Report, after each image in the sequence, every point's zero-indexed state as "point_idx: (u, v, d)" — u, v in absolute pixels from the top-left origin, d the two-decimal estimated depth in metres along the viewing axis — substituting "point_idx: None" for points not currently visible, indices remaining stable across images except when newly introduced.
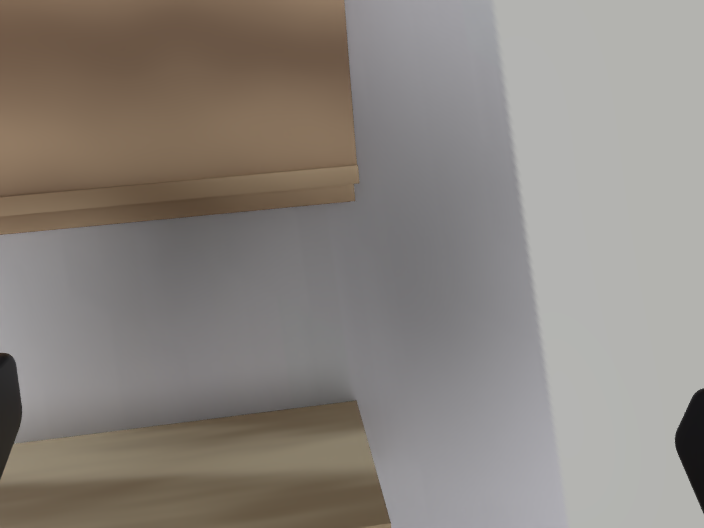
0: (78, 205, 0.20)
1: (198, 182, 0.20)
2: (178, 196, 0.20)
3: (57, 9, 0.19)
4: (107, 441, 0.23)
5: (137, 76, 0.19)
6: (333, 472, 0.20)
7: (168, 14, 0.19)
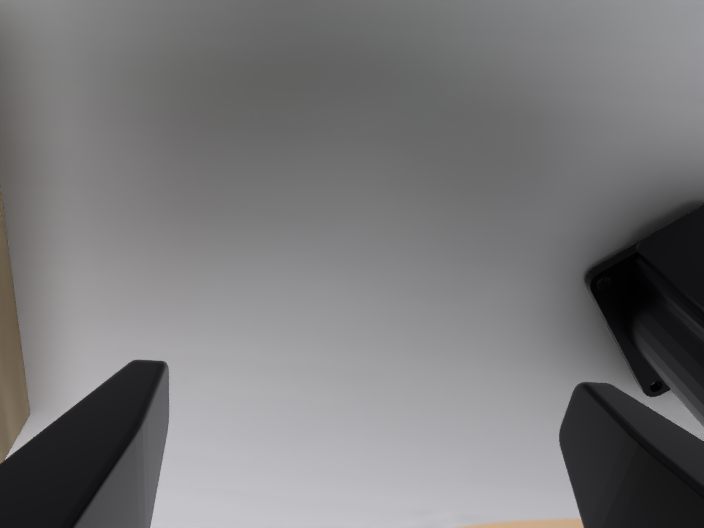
0: None
1: None
2: None
3: None
4: None
5: None
6: None
7: None
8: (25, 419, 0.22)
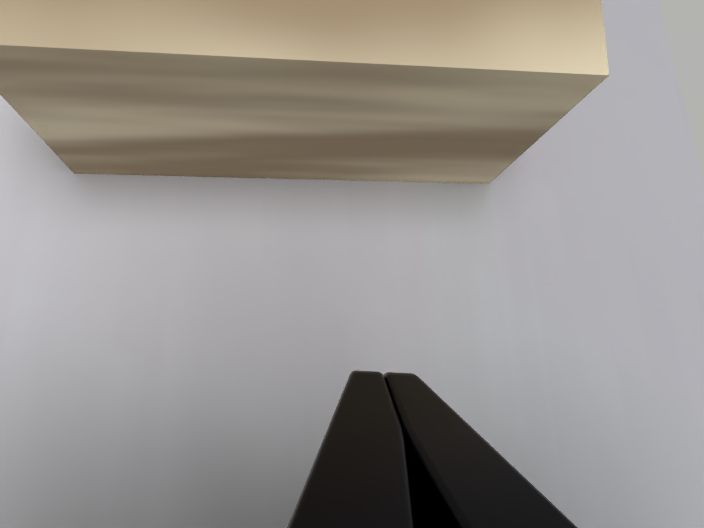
0: None
1: None
2: None
3: None
4: None
5: None
6: None
7: None
8: (72, 169, 0.20)
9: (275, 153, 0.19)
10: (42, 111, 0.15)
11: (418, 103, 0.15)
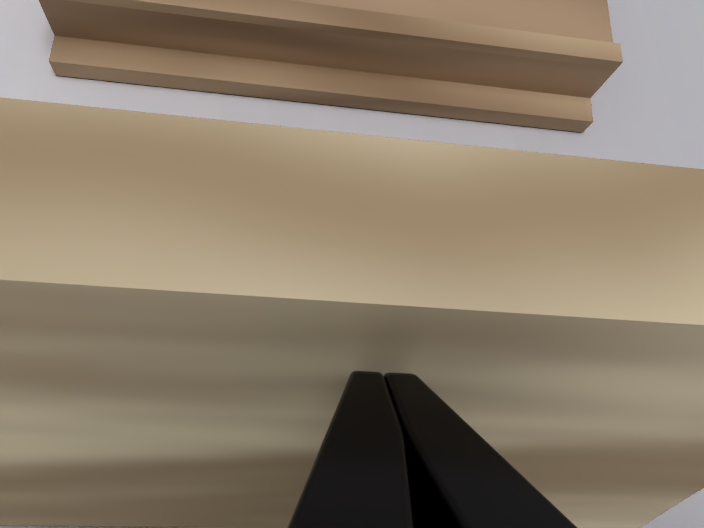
0: (284, 14, 0.15)
1: (432, 22, 0.16)
2: (407, 30, 0.16)
3: None
4: None
5: None
6: None
7: None
8: None
9: None
10: None
11: (581, 395, 0.09)
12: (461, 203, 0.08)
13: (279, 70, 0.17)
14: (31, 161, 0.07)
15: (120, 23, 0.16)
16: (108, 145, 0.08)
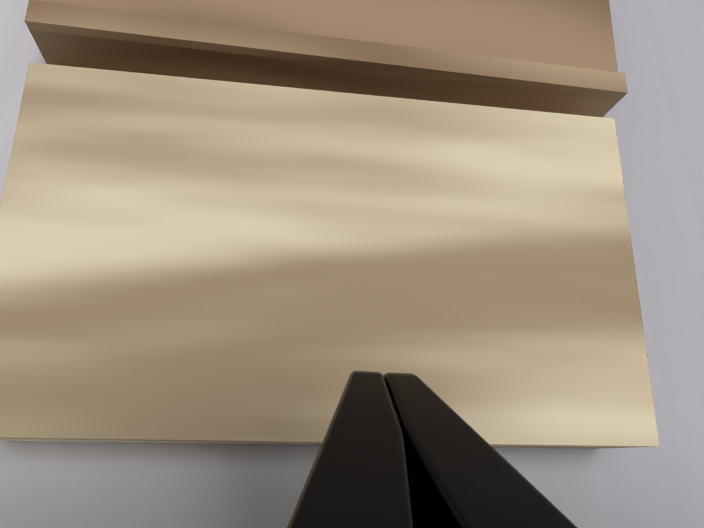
0: (281, 46, 0.15)
1: (434, 52, 0.16)
2: (407, 62, 0.15)
3: None
4: None
5: None
6: None
7: None
8: None
9: (312, 319, 0.13)
10: (35, 194, 0.13)
11: (465, 171, 0.14)
12: None
13: None
14: None
15: (114, 54, 0.15)
16: None
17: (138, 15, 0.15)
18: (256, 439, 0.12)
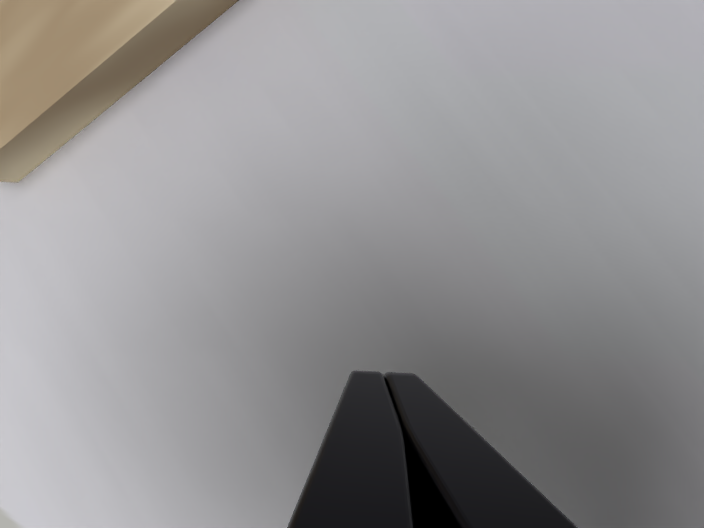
0: None
1: None
2: None
3: None
4: None
5: None
6: None
7: None
8: None
9: None
10: None
11: None
12: None
13: None
14: None
15: None
16: None
17: None
18: (93, 69, 0.18)
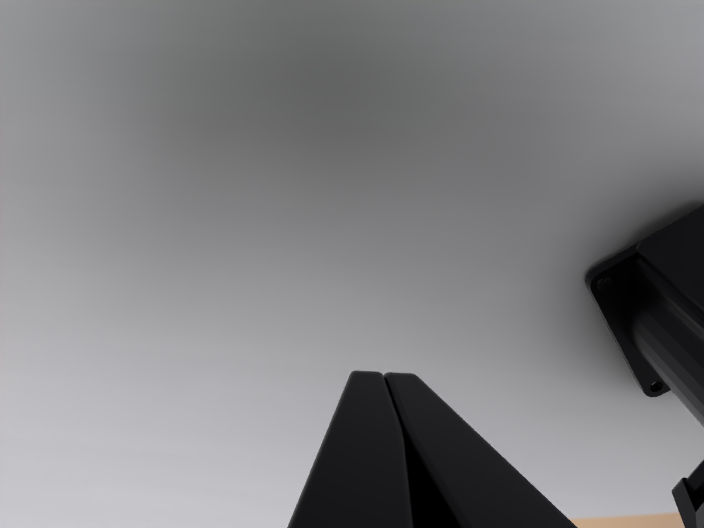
0: None
1: None
2: None
3: None
4: None
5: None
6: None
7: None
8: None
9: None
10: None
11: None
12: None
13: None
14: None
15: None
16: None
17: None
18: None
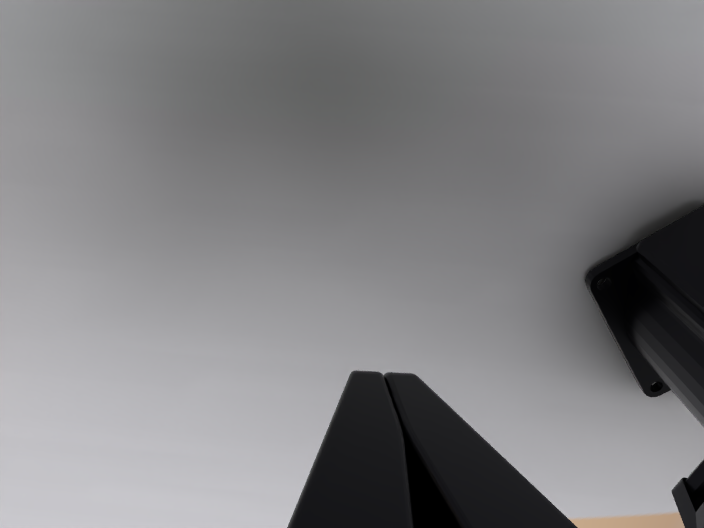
0: None
1: None
2: None
3: None
4: None
5: None
6: None
7: None
8: None
9: None
10: None
11: None
12: None
13: None
14: None
15: None
16: None
17: None
18: None
